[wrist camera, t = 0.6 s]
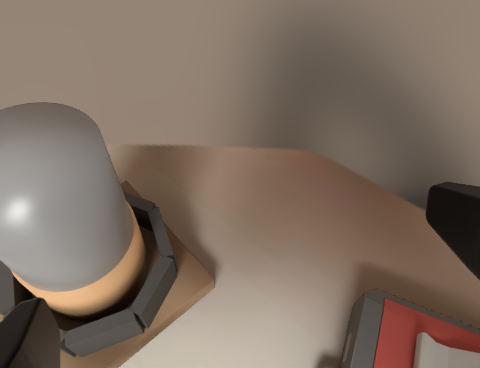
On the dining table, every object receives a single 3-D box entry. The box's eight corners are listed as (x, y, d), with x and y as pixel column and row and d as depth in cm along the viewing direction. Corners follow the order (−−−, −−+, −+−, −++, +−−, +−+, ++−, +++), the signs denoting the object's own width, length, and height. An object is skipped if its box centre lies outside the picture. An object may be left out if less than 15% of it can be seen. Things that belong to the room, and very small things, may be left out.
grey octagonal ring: (168, 358, 20) (162, 347, 18) (-14, 356, 20) (-41, 345, 18) (184, 208, 26) (181, 187, 24) (44, 204, 25) (29, 183, 23)
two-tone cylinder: (142, 325, 21) (84, 230, 12) (29, 324, 21) (-113, 226, 12) (157, 228, 25) (121, 102, 16) (61, 226, 24) (-28, 97, 16)
